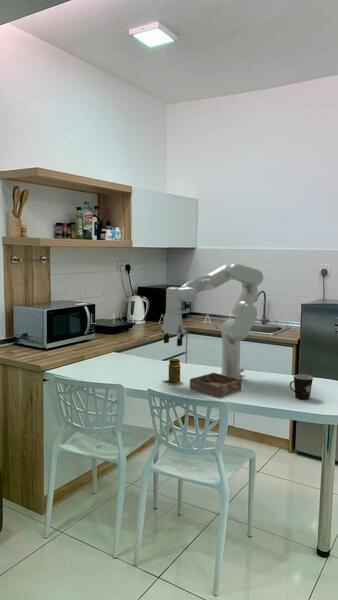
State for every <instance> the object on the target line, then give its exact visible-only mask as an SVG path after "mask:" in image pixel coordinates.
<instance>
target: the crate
mask: <svg viewBox="0 0 338 600" xmlns="http://www.w3.org/2000/svg"><path fill="white" fill-rule="evenodd" d="M242 382H243V381H242V379H237V378H233V377H229V376H225V375H221V373H217V372H211V373H208V374H207V373H206V374H204V375H201V376H200V375H199V376H196V377H192V378H189V390H192V391H196V392H198V393H203V394H206V395H209V396H212V397H215V398H220V397H223V396H226V395H230V394H232V393H235V391H236V392H239V391H242ZM238 390H239V391H238Z"/></svg>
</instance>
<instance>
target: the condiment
mask: <svg viewBox="0 0 338 600" xmlns="http://www.w3.org/2000/svg"><path fill="white" fill-rule="evenodd" d="M168 361H169V364H168V379H167V380H163V381H162V382H163V383H164V384H165V385H170V386H171V385H176V384H182V383H184V382H183V381H181V364H180V361H181V360H180V358H170V359H169V360H168Z"/></svg>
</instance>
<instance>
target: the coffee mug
mask: <svg viewBox="0 0 338 600" xmlns="http://www.w3.org/2000/svg"><path fill="white" fill-rule="evenodd" d="M313 379H314V377H313V376H312V375H307V374H301V373H300V374H294V375H293V380H291V381H290V383H289V388H290V390H291V391H292V392H294V396H295V397H294V398H295V399H297V400H301V401H307V400H310V397H311V391H312V385H313V381H314V380H313ZM292 384H294V389H293V387H292Z"/></svg>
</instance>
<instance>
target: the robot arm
mask: <svg viewBox="0 0 338 600" xmlns="http://www.w3.org/2000/svg"><path fill="white" fill-rule="evenodd" d="M231 280H234V281H237V282H240V283H241V288H242V289H241V292H240V295H239V296H238V298H237V300H236V302H235V304H234V306H233V308H232V311H231V312H232V315H233V317H234V318H236V320H235V319H226V320H225V321H224V322H223V323H222V324H221V329H220V330H221V331H220V332H221V339H222V348H221V351H222V353H221V373H220V374H221V375H225V376H229V377H233V378H237V379H240V380H242V379H243V375H242V374H241V373H243V372H245V368H243V367H242V368H241V367H240V365H241V341H242V340H245V339H246V338H247V336H248V335H249V333H250V331H251V329H252V327H253V325H254V323H255V321H256V319H257V317H258V310H257V307H256V306H255V305H254V304H255V302H256V300H257V298H258V293H259V292H258V291H259V290H258V286H260V285H261V284H262V283H263V281H264V275H263V273H262V272H261V270H259V269H257V268H253V267H249V266H246V265H243V264H240V263H237V262H235V263H234V262H229V263H225V264H224V265H222V266H219V267H218V268H216V269H215V270H212V271H210V272H209V273H207V274H205V275H202V276H200V277H197V278H195V279H192V280H190V281H188V282H186V283H184V284H183V285H182V286H180V287H178V286H177V287H176V286H170V287H167V288H166V291H165V292H166V294H165V296H166V298H165V299H166V301H165V307H166V308H165V313H164V318H163V324H162V325H161V326H160V329H161V333H162V335H163V343H164V344H169V342H170V335H169V334H171V335H176V336H177V338H176V346H177V347H181V346H183V339H184V337H185V336H186V332H187V330H186V329H185V328H184V327H183V317H182V302H187V303H191V302H194V301H196V300H197V298H198V294H200V293H201V292H204V291H211V290H214V289H217V288H218V287H220V286H222V285H224V284H225V283H228V282H230V281H231Z"/></svg>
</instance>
